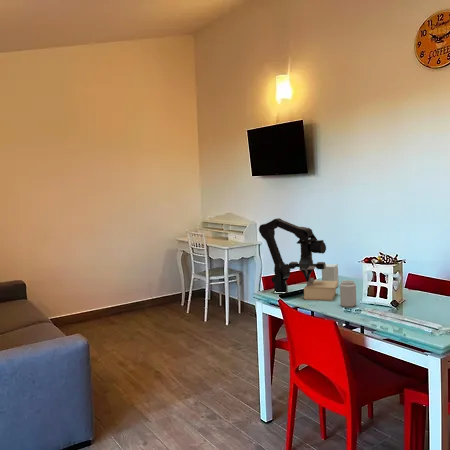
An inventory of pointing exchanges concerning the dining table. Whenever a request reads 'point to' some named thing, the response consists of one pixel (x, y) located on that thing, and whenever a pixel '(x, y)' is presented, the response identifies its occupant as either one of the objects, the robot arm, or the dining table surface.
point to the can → (348, 293)
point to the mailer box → (319, 294)
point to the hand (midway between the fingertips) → (307, 281)
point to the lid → (321, 284)
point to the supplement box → (330, 273)
